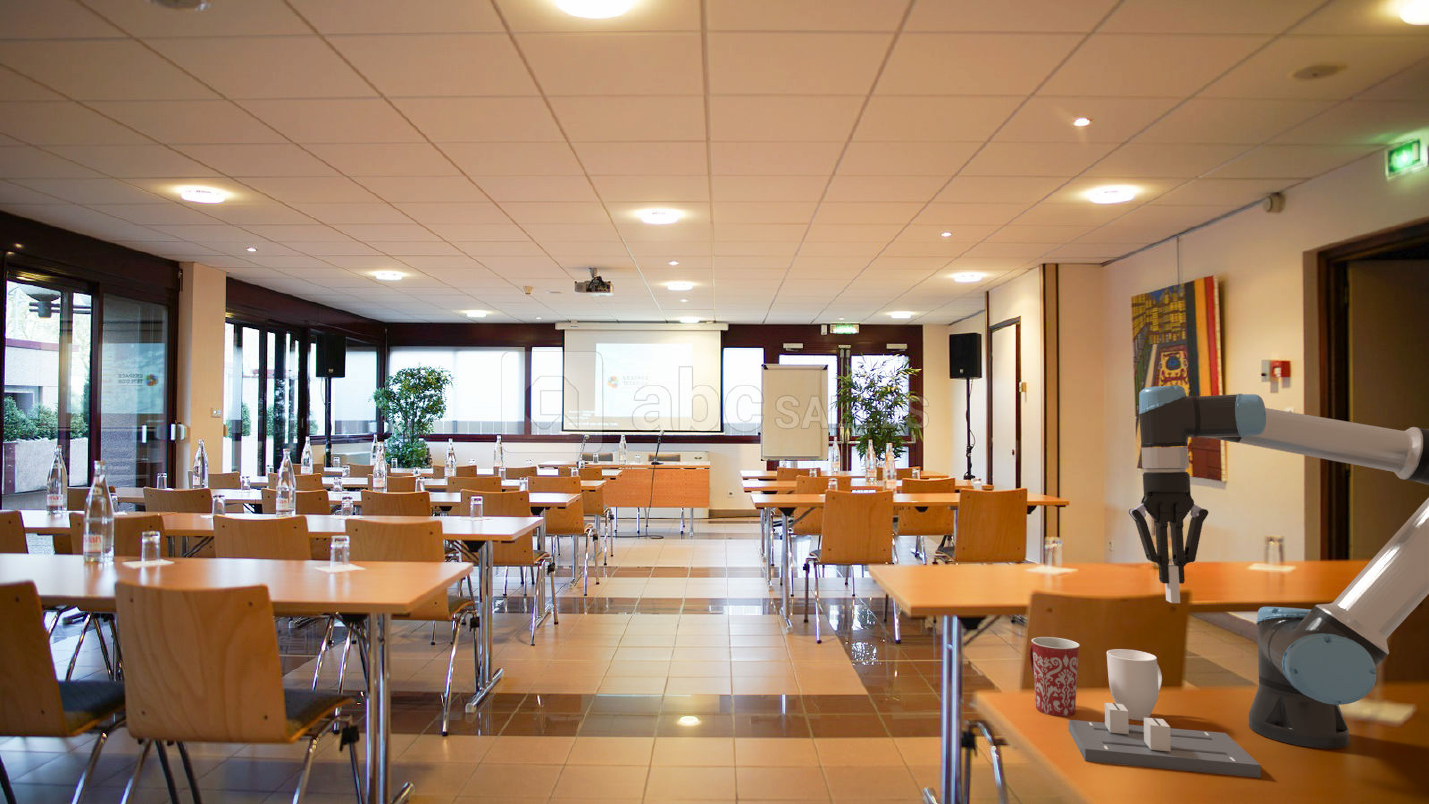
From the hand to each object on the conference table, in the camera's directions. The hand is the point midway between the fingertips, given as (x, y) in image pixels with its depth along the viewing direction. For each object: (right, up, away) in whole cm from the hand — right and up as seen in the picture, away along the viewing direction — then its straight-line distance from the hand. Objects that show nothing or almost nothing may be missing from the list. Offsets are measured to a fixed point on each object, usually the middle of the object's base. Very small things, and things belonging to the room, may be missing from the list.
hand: (1173, 601), depth 147 cm
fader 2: (-8, -22, -10) cm, 25 cm away
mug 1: (-15, -26, +17) cm, 34 cm away
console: (-6, -25, -7) cm, 26 cm away
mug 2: (+1, -26, +13) cm, 29 cm away
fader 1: (-11, -22, -2) cm, 25 cm away
